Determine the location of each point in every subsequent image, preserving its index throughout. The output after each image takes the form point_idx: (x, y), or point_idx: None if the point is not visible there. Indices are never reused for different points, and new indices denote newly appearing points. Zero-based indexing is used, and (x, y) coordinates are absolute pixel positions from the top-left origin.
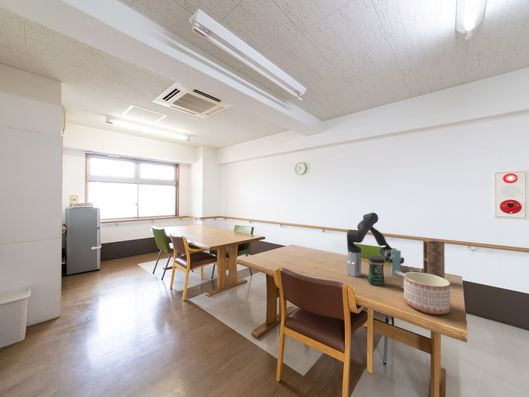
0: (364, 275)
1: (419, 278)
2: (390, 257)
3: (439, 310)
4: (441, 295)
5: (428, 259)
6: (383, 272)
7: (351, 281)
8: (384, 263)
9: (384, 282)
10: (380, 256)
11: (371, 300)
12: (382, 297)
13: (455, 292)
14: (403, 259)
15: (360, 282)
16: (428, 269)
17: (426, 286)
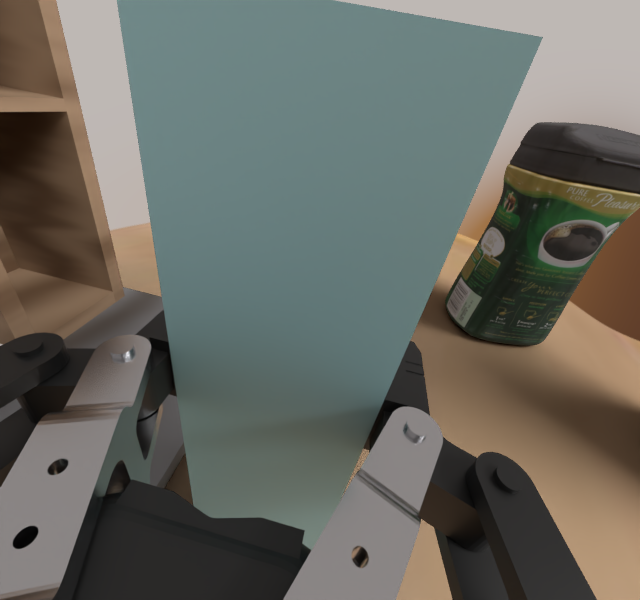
0: (623, 463)
1: None
2: (384, 487)
3: None
4: None
5: (70, 71)
6: (482, 235)
7: (631, 354)
8: (506, 168)
9: (450, 290)
10: (568, 123)
11: None
12: (455, 250)
13: (120, 233)
14: (53, 333)
15: (576, 340)
16: (98, 195)
17: None
